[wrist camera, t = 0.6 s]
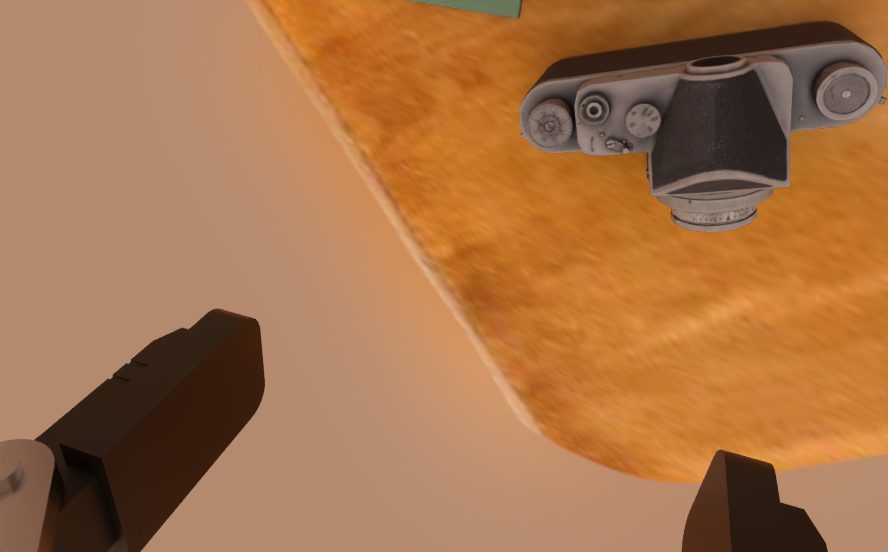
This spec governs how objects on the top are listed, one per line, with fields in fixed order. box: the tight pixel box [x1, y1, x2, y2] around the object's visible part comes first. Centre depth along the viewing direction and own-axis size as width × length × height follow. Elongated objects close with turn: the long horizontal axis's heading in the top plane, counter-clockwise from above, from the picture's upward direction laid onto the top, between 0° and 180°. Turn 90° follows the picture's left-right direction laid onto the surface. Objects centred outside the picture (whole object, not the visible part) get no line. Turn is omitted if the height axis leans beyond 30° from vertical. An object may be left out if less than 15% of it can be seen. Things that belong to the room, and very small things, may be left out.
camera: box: [519, 21, 887, 232], centre depth 30 cm, size 16×8×10 cm, turn 101°
